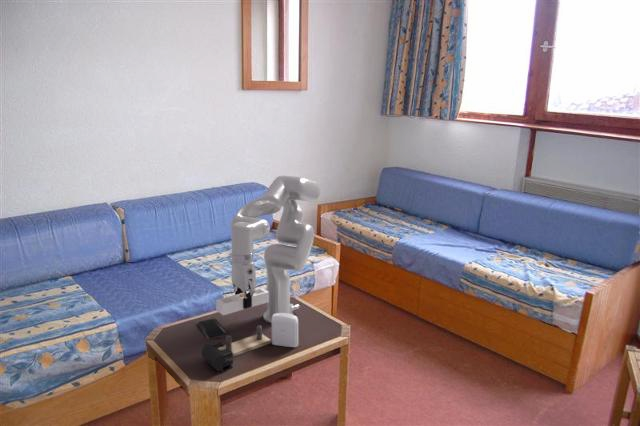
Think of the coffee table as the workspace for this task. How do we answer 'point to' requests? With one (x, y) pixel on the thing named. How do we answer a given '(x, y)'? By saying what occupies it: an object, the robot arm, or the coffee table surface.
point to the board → (246, 343)
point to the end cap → (217, 356)
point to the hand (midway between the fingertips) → (243, 304)
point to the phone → (212, 329)
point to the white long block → (240, 301)
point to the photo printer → (285, 330)
